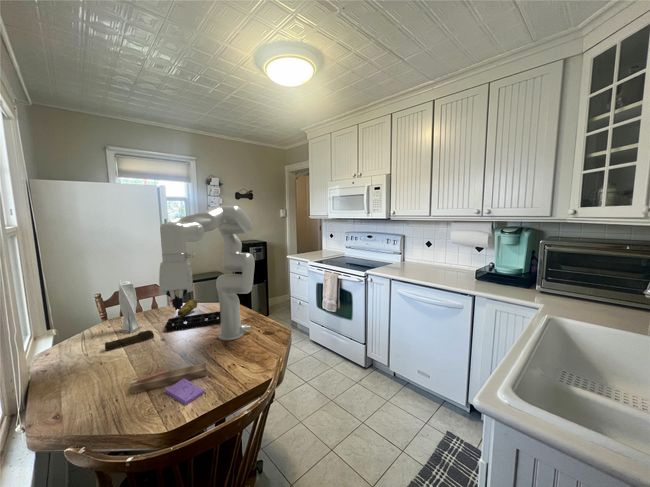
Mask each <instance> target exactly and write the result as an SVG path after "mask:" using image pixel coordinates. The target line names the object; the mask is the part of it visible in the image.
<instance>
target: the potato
mask: <svg viewBox="0 0 650 487" xmlns="http://www.w3.org/2000/svg"><path fill="white" fill-rule="evenodd" d="M197 307H198V301H197V300H196V299H189V300H187V301H186V302H185V303H183V306H181V309H180V310H179V309H178V311H177V317H184V316H187V315H188V314H189V313H191V312H192V311H194V310H195V309H196V308H197Z"/></svg>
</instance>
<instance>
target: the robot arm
mask: <svg viewBox="0 0 650 487" xmlns="http://www.w3.org/2000/svg"><path fill="white" fill-rule="evenodd" d="M159 228H160V229H159V232H160V233H159V234H160V246H161V247H160V248H161V258H162V259H161V260H162V261H161V262H160V264H159V265H160V266H159V272H158V274H159V276H158V277H159V278H158V285H159V295H163V296H164V295H165V296H168V297H169V299H171V300H172V308H174V310H175V311H177V310H178V311H179V310H180V309H181V308H182V307H183V305H184V302H183V301H184V300H183V298H184V296H185V295H186V294H187V293H191V292H193V291H195V290H194V289H195V288H194V283H193V281H194V279H193V272H192V266H191V265H192V264H191V263H190V262H191V261H190V260H188V259H190V258H192V254H191V253H187V252H188V251H187V243H195V242H198V241H200V240H202V239H203V238H204V236H205V233H206V232H211V231H214V230H216V229H218V231H219V233H220V235H221V237H222V239H223V243H224V246H223V247H224V248H223V254H222V255H223V256H222V262H221V263H222V264H221V265H222V269H223V270H224V271H226V272H241V273H238V274H237V273H224V274H221V275H219V276H218V277H217V278H216V280H215V287H216V291H217V295H218V301H219V302H218V303H219V311H220V320H221V324H220V331H219V333H218V334H217V338H218V339H219V340H222V341H234V340H237V339H239V338H241V337H243V336H244V335H245V331H246V330H247V331H248V330H251V329H252V328H251V325H249V324H242V322H241V321H242V320H241V307H240V306H241V303H240V299H239V296H238V295H237V294H239V295H240V294H246V295H247V294H249V293H250V292H251V291H252V289H253V286H254V274H255V266H256V265H255V263H256V261H255V257H254V255H253V254H252V253H249V252H242V248H243V244H242V241H241V239H240V238H239V236H237V235H248V234H250V233H251V232H252V229H253V223H252V220H251V218H250V216H248V215H247V213H245V211H244V210H243V209H242V208H240V207H239V206H238V205H217V206H214V207H212V208H209V209H208V210H205V211H202V212H199V213H198V212H197V213H194V214H190V215H186V216H182V217H178V218H175V219H173V220H169V222H167V223H165V222H164V223H162V224H161V225H160V227H159ZM176 291H178V292H179V293H178V296H177V293H176Z"/></svg>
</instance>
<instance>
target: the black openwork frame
mask: <svg viewBox="0 0 650 487" xmlns="http://www.w3.org/2000/svg"><path fill="white" fill-rule="evenodd" d="M218 316H219V319H217V318H218ZM206 318H208V319H207V320H206ZM212 323H213V324H212ZM220 323H221V320H220V310H219V311H213V312H205V313H199V314H192V315H184V316H177V317H171V318H169V319H168V320H167V321H166V324H165V326H164V327H165V329H166V332H167V333H169V332H175V331H177V330H179V331H181V330H183V331H184V330H187V329H189V328H190V329H195V328H200V327H201V326H202V327H209V326H212V325H214V324H216V325H221V324H220ZM208 325H209V326H208Z"/></svg>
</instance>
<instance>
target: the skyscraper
mask: <svg viewBox="0 0 650 487" xmlns="http://www.w3.org/2000/svg"><path fill="white" fill-rule="evenodd" d="M118 282H119V285H118V303H119V308H120V311H121V313H122V316H123V320H122V330H120V331H119V334H133V333H135V332H137V331H138V330H141V329H142V328H143V326H140V325H139V322H138V319H137V316H136V309H137V300H138V299H137V294H136V293H137V292H136V289H135V285H134V282H133V280H131V281H129V280H126V281H125V280H124V281H122V282H121V278H119V279H118Z"/></svg>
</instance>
